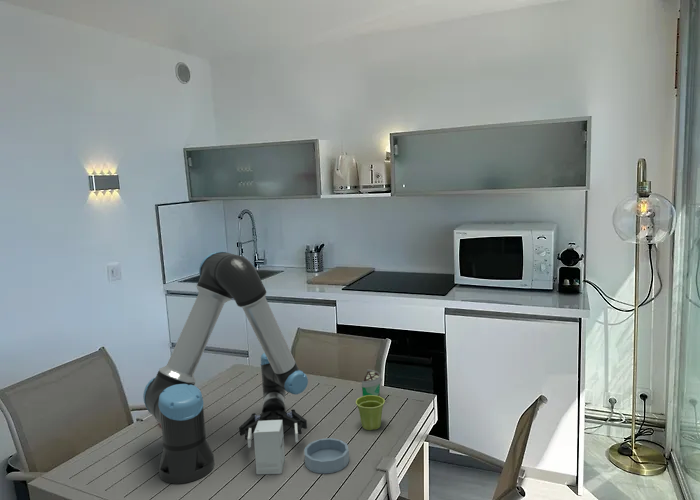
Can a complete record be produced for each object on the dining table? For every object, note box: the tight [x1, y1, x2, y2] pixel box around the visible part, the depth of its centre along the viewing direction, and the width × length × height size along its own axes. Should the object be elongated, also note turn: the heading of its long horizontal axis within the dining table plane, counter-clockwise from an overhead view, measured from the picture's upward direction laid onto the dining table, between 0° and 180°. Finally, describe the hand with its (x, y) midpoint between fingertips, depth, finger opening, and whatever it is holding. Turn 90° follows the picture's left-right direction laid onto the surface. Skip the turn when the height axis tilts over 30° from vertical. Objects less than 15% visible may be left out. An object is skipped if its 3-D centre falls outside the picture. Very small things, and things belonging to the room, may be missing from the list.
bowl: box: [303, 437, 350, 475], centre depth 148 cm, size 13×13×4 cm
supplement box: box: [253, 420, 286, 475], centre depth 146 cm, size 7×7×13 cm
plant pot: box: [355, 395, 386, 431], centre depth 167 cm, size 9×9×9 cm
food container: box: [361, 368, 383, 396], centre depth 185 cm, size 12×6×10 cm, turn 168°
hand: (273, 440), depth 148 cm, fingers open, 13 cm apart
